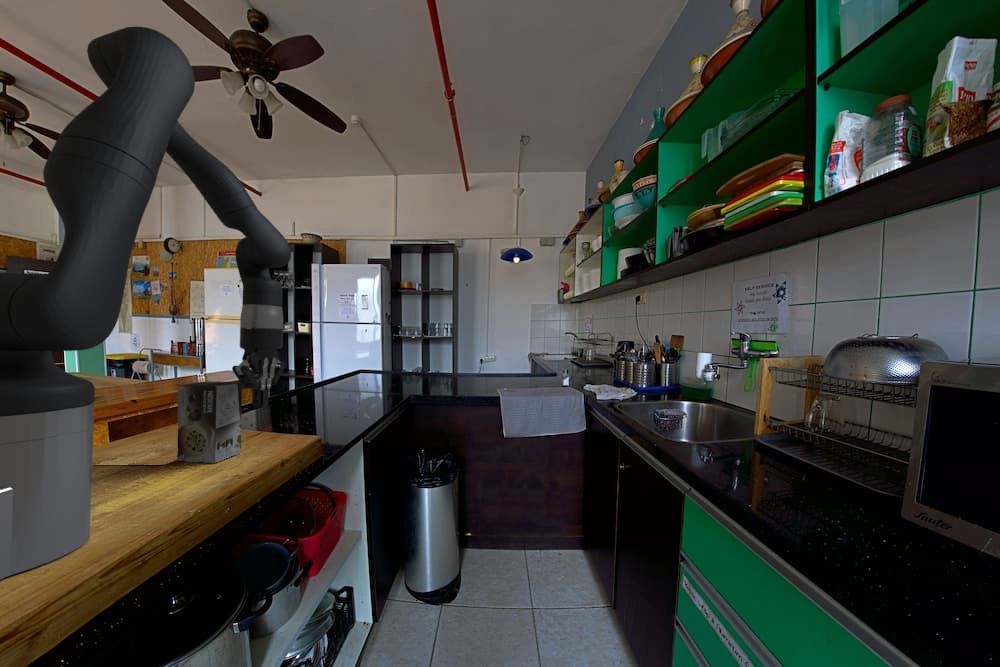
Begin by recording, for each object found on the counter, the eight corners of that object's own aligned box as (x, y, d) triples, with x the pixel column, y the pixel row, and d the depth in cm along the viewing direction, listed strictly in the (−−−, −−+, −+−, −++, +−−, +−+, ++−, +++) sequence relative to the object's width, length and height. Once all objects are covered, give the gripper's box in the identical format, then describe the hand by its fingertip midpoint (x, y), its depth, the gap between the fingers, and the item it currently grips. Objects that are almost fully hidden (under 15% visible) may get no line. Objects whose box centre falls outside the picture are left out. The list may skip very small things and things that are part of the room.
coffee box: (242, 453, 73) (244, 381, 74) (214, 464, 67) (216, 385, 67) (205, 451, 74) (207, 380, 74) (174, 462, 68) (177, 384, 68)
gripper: (267, 328, 78) (265, 401, 77) (218, 325, 64) (216, 413, 64) (298, 328, 78) (297, 401, 77) (256, 325, 64) (253, 414, 64)
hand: (260, 407), depth 71 cm, fingers closed
